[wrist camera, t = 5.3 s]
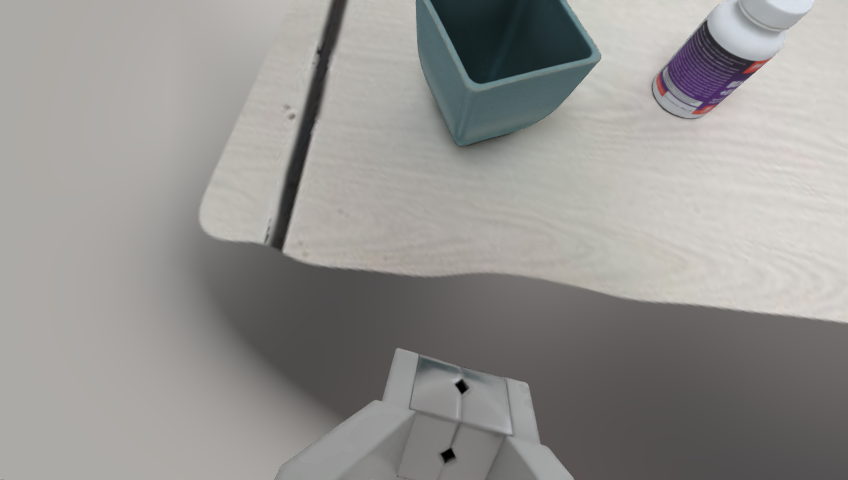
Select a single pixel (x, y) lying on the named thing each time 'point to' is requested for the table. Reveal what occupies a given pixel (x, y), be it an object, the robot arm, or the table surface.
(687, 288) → the table surface
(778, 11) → the pill bottle
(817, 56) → the table surface
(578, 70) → the flower pot
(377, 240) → the table surface
